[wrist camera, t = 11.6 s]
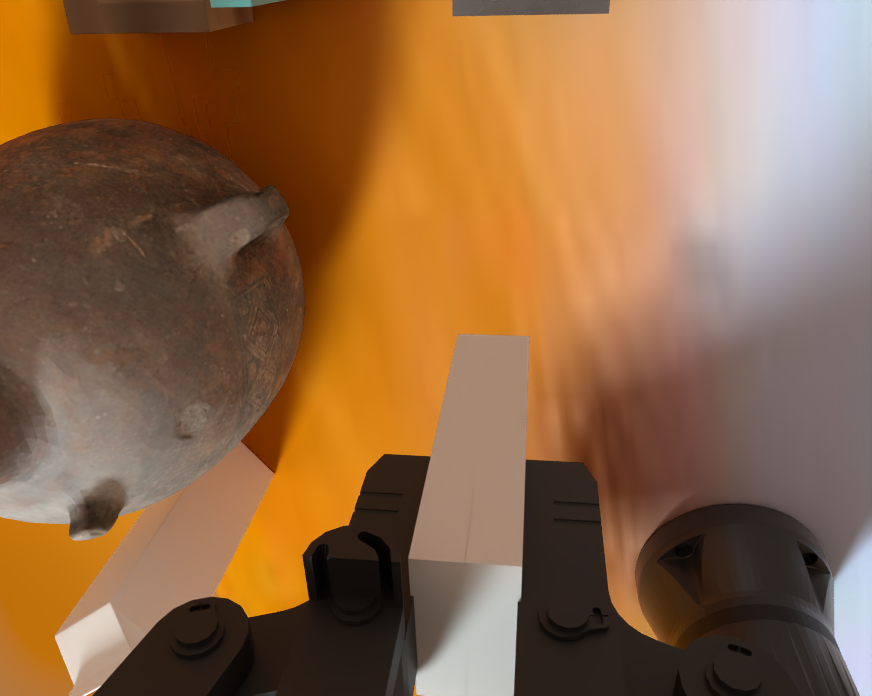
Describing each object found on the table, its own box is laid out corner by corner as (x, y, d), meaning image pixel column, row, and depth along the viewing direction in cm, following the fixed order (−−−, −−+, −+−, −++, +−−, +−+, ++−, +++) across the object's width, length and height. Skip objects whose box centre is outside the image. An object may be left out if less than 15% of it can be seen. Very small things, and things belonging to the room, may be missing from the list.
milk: (181, 457, 63) (19, 678, 44) (227, 425, 61) (78, 643, 41) (230, 504, 65) (96, 735, 46) (277, 474, 62) (157, 705, 43)
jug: (258, 430, 60) (43, 795, 34) (14, 300, 57) (-426, 593, 31) (398, 185, 49) (235, 451, 23) (103, 6, 46) (-474, 78, 20)
